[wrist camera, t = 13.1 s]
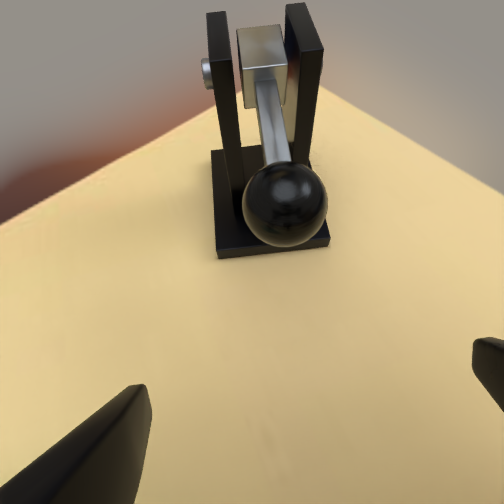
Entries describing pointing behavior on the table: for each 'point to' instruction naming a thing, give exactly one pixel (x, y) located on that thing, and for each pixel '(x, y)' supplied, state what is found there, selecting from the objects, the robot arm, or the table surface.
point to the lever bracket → (251, 157)
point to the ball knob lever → (275, 148)
